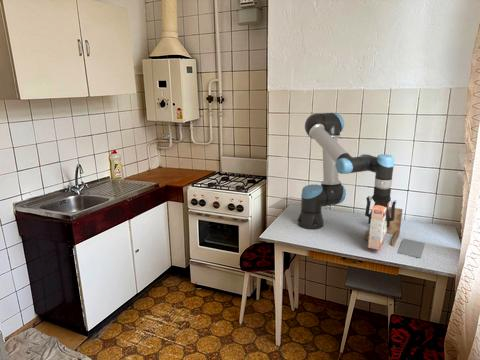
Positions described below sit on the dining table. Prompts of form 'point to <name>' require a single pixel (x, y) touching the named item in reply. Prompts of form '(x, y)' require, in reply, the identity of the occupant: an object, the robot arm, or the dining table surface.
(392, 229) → the brown wooden legged piece
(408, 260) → the dining table surface
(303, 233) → the dining table surface
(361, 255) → the dining table surface
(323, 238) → the dining table surface
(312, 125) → the robot arm
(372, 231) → the cracker box
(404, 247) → the mat
